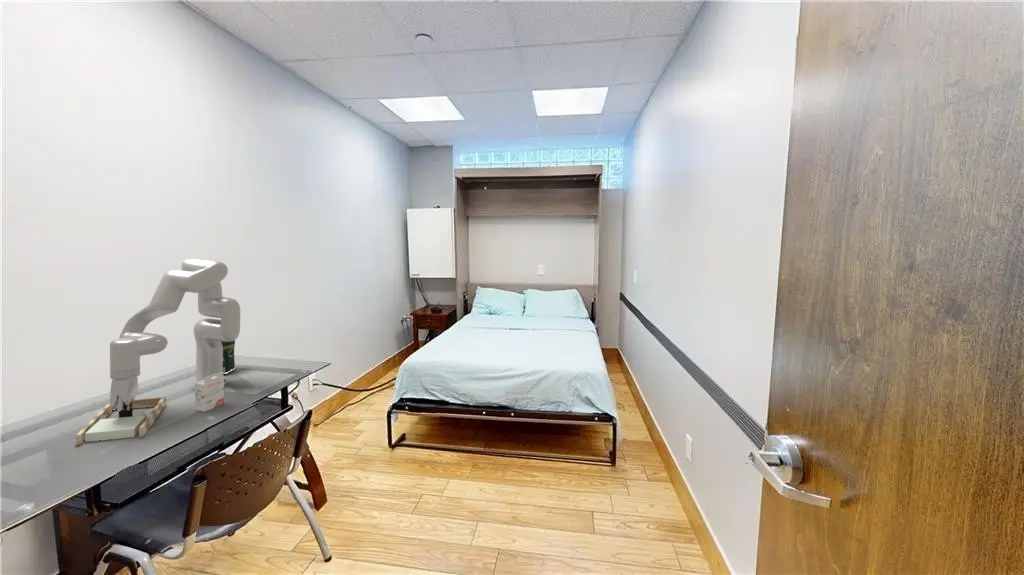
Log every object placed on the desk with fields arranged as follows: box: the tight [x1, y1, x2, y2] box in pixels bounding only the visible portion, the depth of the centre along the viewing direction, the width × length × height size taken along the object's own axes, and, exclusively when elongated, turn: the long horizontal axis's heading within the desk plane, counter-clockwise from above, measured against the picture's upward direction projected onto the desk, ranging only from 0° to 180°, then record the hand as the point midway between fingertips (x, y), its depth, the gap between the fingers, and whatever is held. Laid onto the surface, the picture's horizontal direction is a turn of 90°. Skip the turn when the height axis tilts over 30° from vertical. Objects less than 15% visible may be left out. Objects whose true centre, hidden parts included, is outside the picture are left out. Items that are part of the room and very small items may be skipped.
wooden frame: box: [75, 396, 167, 446], centre depth 136 cm, size 26×16×4 cm, turn 30°
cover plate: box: [84, 415, 147, 443], centre depth 130 cm, size 10×12×4 cm
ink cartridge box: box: [194, 371, 225, 413], centre depth 153 cm, size 9×5×15 cm, turn 168°
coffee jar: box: [221, 340, 236, 373], centre depth 186 cm, size 10×8×19 cm
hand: (125, 419), depth 136 cm, fingers closed
